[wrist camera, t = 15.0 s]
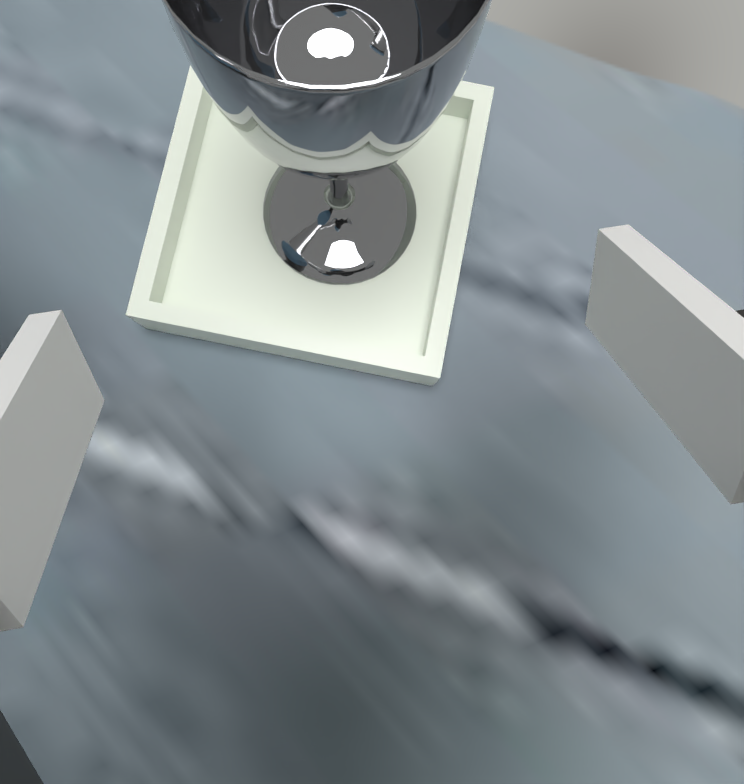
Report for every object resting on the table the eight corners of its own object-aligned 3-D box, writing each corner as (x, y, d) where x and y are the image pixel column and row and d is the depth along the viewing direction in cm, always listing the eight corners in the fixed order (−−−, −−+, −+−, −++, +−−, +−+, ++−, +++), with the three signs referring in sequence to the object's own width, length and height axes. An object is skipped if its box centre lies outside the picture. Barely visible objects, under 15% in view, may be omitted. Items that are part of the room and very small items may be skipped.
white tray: (146, 328, 28) (125, 315, 26) (213, 64, 30) (200, 28, 27) (432, 386, 28) (440, 378, 26) (482, 118, 30) (494, 87, 27)
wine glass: (430, 137, 29) (515, -222, 14) (420, 300, 28) (499, 102, 13) (262, 123, 28) (163, -257, 14) (245, 286, 27) (118, 69, 12)
